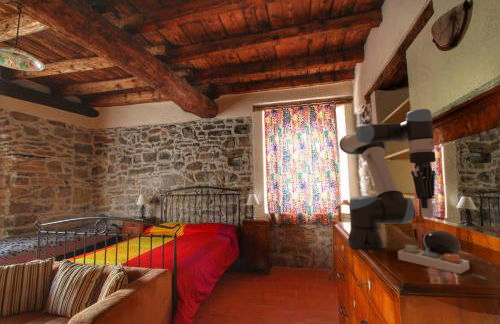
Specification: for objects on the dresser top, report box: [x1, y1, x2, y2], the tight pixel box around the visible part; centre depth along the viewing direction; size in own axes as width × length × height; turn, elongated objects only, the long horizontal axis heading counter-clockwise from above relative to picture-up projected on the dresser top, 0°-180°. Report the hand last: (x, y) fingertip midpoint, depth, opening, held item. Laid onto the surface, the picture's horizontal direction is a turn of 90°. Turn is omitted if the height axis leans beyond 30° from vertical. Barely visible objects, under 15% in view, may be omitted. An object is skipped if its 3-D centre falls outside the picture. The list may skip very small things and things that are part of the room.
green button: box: [404, 244, 419, 254], centre depth 86 cm, size 4×4×2 cm
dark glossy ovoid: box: [422, 229, 462, 255], centre depth 85 cm, size 10×10×15 cm
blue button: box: [423, 250, 438, 259], centre depth 81 cm, size 4×4×2 cm
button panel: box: [397, 248, 470, 274], centre depth 81 cm, size 18×8×3 cm, turn 30°
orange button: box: [444, 253, 461, 264], centre depth 76 cm, size 4×4×2 cm
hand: (427, 217), depth 82 cm, fingers closed
